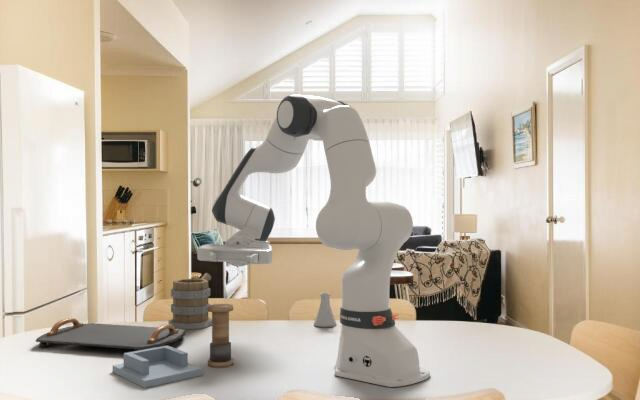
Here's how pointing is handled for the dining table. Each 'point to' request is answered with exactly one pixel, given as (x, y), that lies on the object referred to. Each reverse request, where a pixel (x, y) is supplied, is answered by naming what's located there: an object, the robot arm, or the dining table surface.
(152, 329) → the serving board
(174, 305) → the tankard
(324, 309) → the flask
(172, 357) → the notched block
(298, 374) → the dining table surface
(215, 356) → the bobbin
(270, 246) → the robot arm
